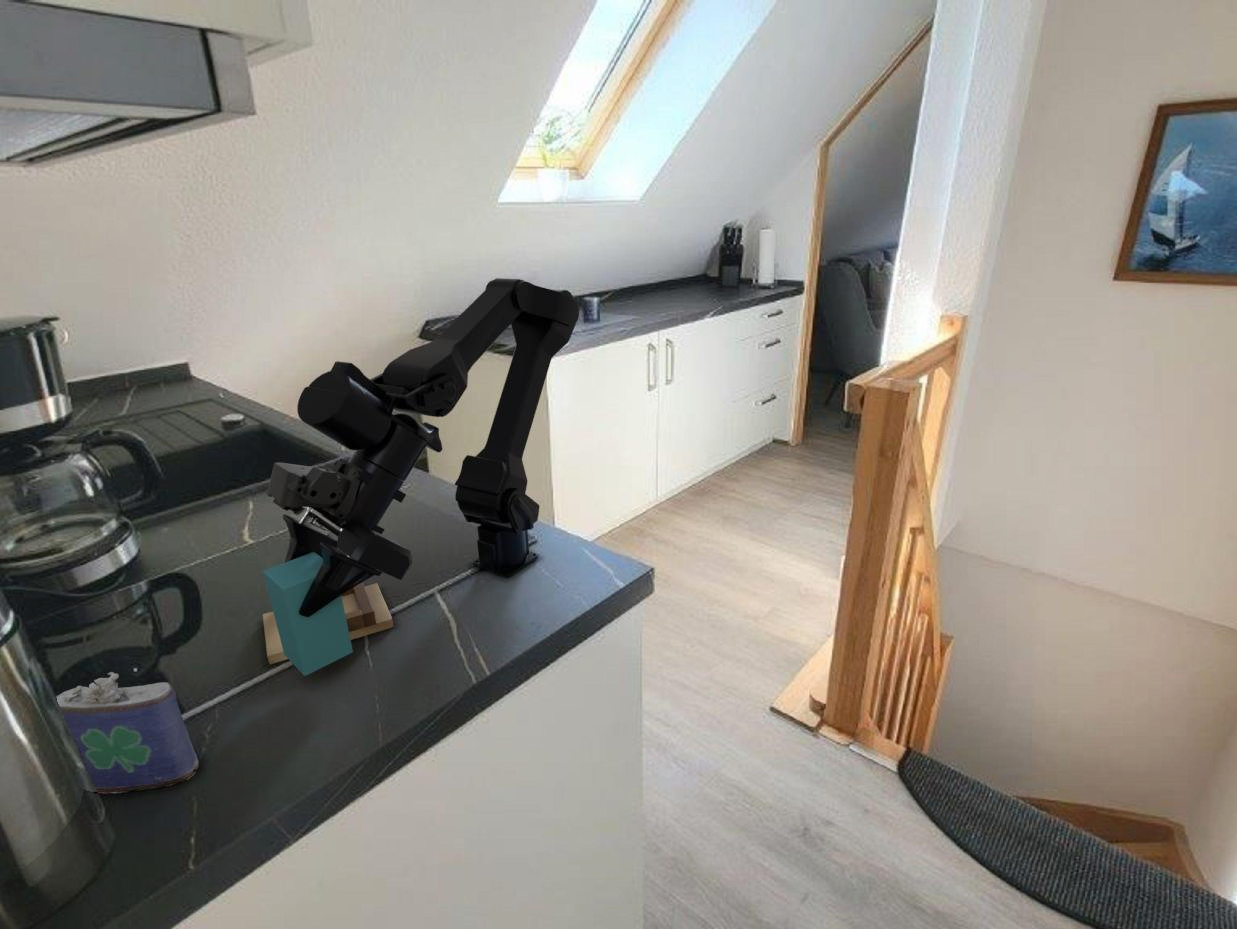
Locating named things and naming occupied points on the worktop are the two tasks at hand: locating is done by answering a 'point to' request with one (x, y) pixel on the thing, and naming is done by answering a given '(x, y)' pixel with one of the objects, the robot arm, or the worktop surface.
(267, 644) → the socket pad
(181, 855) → the worktop surface
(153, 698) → the flask
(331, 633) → the teal rectangular block
